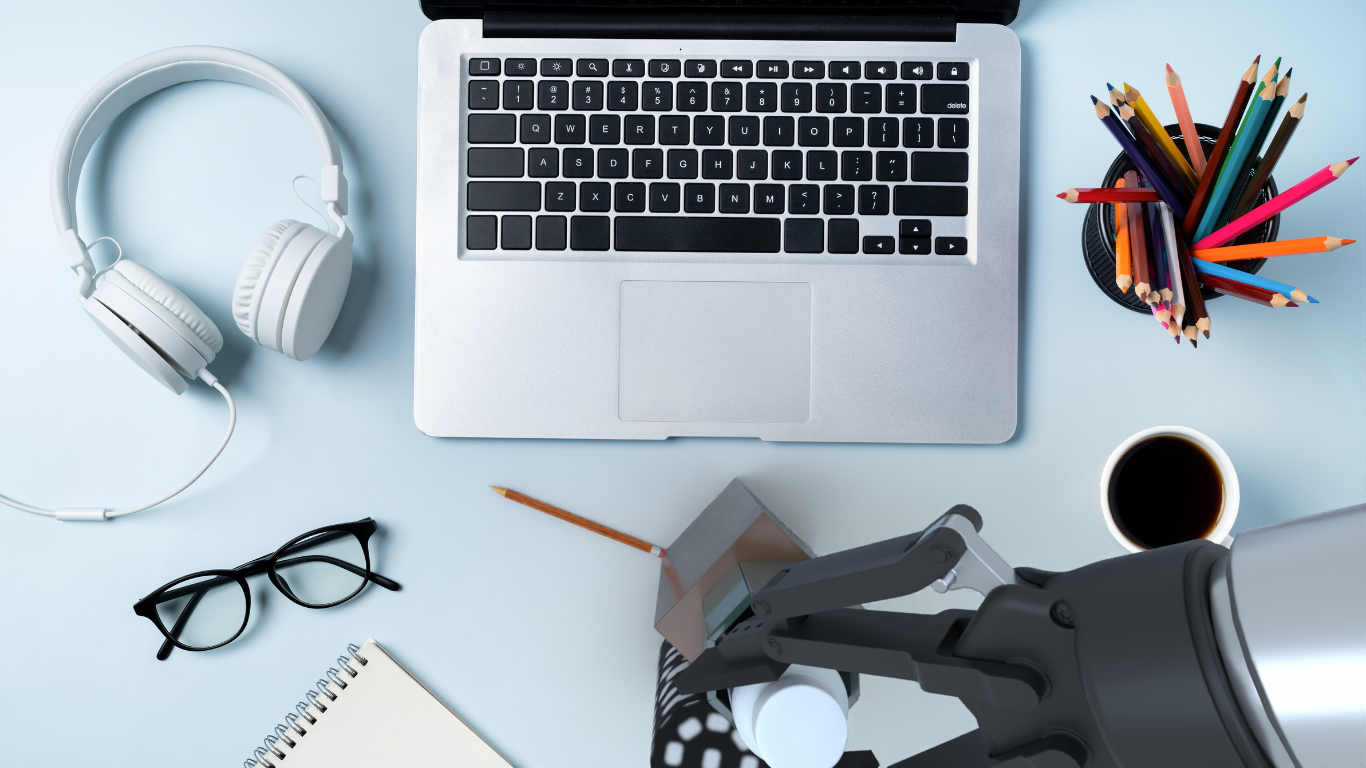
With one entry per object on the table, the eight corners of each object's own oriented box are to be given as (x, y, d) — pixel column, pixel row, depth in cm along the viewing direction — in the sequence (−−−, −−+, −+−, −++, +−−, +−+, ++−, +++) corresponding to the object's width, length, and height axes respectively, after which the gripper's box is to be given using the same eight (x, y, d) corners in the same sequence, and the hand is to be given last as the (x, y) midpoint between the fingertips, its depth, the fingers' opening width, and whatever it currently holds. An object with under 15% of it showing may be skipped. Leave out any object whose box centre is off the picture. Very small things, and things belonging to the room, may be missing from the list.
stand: (812, 550, 72) (878, 622, 48) (739, 628, 72) (768, 738, 48) (735, 477, 72) (763, 511, 48) (662, 554, 72) (653, 627, 48)
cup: (855, 622, 48) (890, 665, 40) (768, 716, 48) (785, 777, 40) (763, 534, 48) (780, 559, 40) (675, 626, 48) (674, 670, 40)
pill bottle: (788, 591, 42) (824, 644, 33) (837, 677, 42) (888, 755, 32) (703, 641, 42) (714, 709, 32) (752, 727, 42) (778, 821, 32)
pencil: (664, 558, 72) (664, 560, 72) (488, 489, 72) (486, 490, 72) (667, 550, 72) (667, 551, 72) (491, 482, 72) (489, 482, 72)
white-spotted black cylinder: (738, 714, 72) (761, 833, 52) (650, 698, 72) (639, 811, 52) (754, 626, 72) (783, 710, 52) (666, 610, 72) (662, 688, 52)
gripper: (1442, 858, 23) (857, 834, 40) (1130, 339, 24) (677, 525, 40) (1475, 1106, 18) (782, 962, 34) (1071, 430, 19) (575, 602, 35)
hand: (726, 726), depth 37 cm, fingers closed on pill bottle, 5 cm apart
